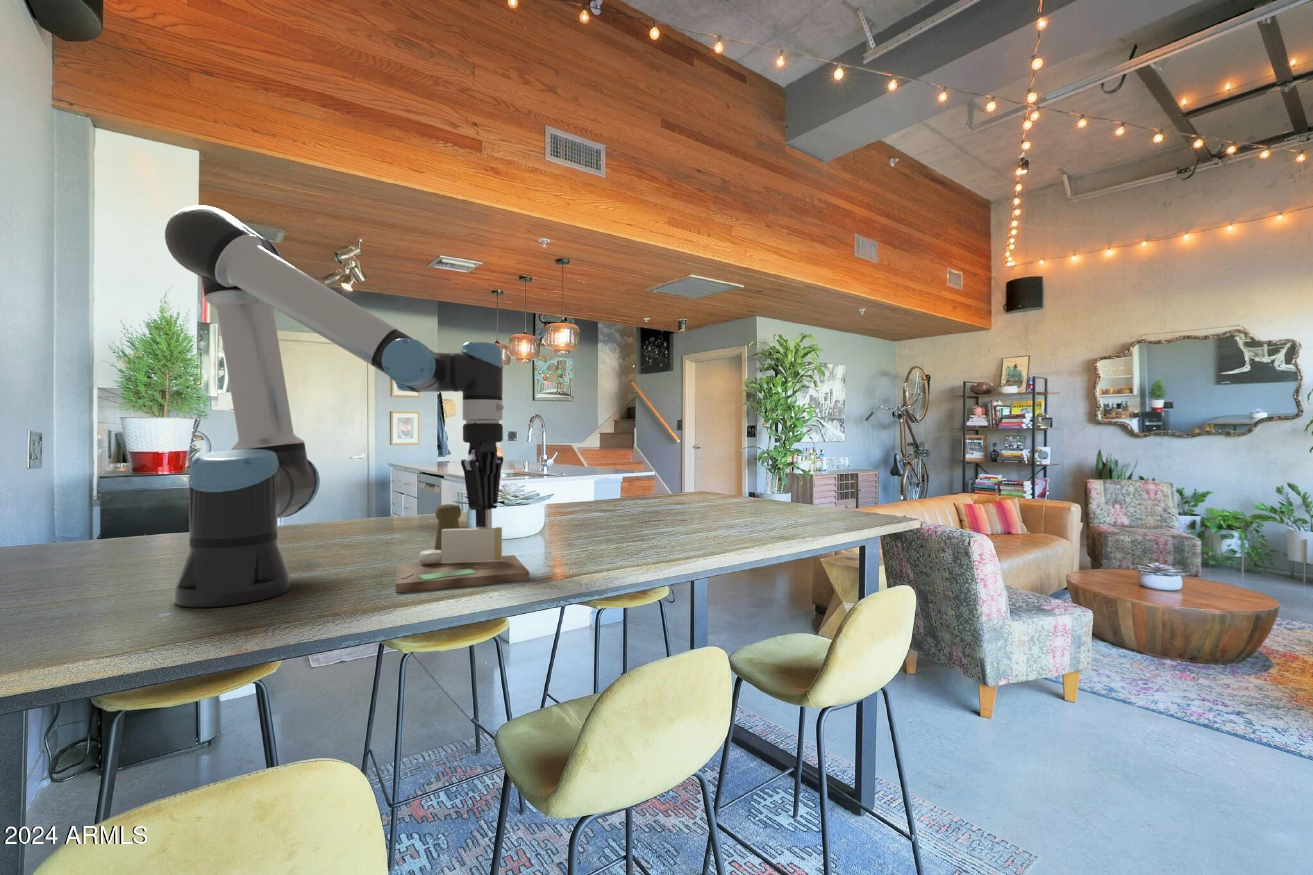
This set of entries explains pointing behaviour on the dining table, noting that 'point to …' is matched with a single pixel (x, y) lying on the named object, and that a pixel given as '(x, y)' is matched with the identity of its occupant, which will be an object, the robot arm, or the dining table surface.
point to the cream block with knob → (466, 546)
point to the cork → (446, 520)
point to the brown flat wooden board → (458, 574)
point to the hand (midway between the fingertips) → (483, 542)
